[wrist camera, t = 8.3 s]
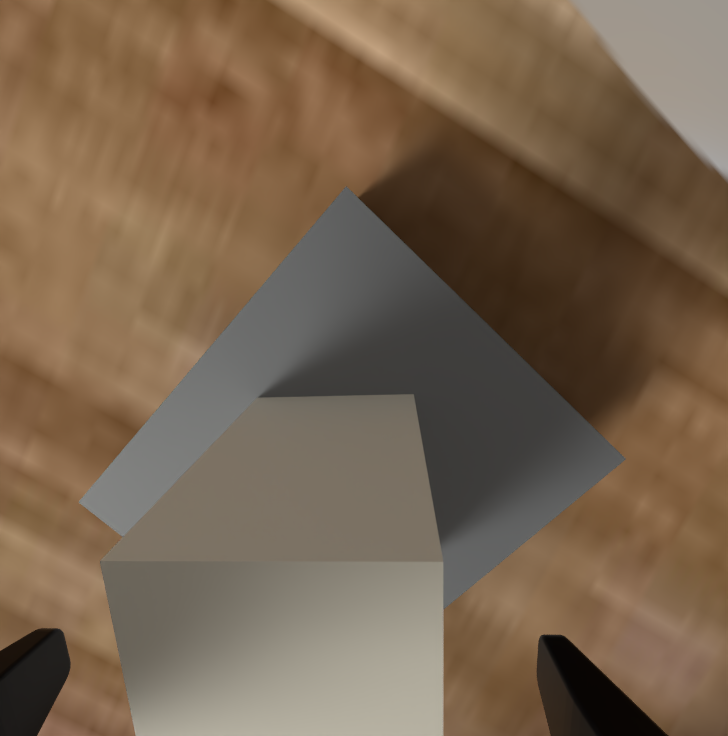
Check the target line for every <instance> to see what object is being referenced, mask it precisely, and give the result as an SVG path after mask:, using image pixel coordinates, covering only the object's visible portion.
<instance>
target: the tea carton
mask: <svg viewBox="0 0 728 736" xmlns="http://www.w3.org/2000/svg"><path fill="white" fill-rule="evenodd" d="M100 564H101V569H102V574H103V579H104V584H105V589H106V593H107V598H108V603H109V608H110V613H111V618H112V623H113V627H114V632H115V637H116V642H117V647H118V652H119V657H120V661H121V666H122V671H123V676H124V681H125V686H126V691H127V695H128V700H129V705H130V710H131V715H132V720H133V725H134V729H135V734H136V736H443V557H442V551H441V546H440V540H439V534H438V529H437V523H436V517H435V512H434V506H433V500H432V495H431V489H430V483H429V478H428V472H427V467H426V461H425V455H424V450H423V444H422V438H421V433H420V427H419V421H418V416H417V410H416V404H415V399H414V394H397V395H352V396H307V397H262V398H256V399H255V400H254V402H253V403H252V404H251V405H250V406H249V407H248V408H247V409H246V410H245V411H244V412H243V413H242V414H241V415H240V416H239V417H238V418H237V419H236V420H235V421H234V422H233V423H232V424H231V425H230V426H229V427H228V429H227V430H226V431H225V432H224V433H223V434H222V435H221V436H220V437H219V438H218V439H217V440H216V441H215V442H214V443H213V444H212V445H211V446H210V447H209V448H208V449H207V450H206V451H205V452H204V453H203V455H202V456H201V457H200V458H199V459H198V460H197V461H196V462H195V463H194V464H193V465H192V466H191V467H190V468H189V469H188V470H187V471H186V472H185V473H184V474H183V475H182V476H181V477H180V478H179V479H178V480H177V482H176V483H175V484H174V485H173V486H172V487H171V488H170V489H169V490H168V491H167V492H166V493H165V494H164V495H163V496H162V497H161V498H160V499H159V500H158V501H157V502H156V503H155V504H154V505H153V506H152V508H151V509H150V510H149V511H148V512H147V513H146V514H145V515H144V516H143V517H142V518H141V519H140V520H139V521H138V522H137V523H136V524H135V525H134V526H133V527H132V528H131V529H130V530H129V531H128V532H127V533H126V535H125V536H124V537H123V538H122V539H121V540H120V541H119V542H118V543H117V544H116V545H115V546H114V547H113V548H112V549H111V550H110V551H109V552H108V553H107V554H106V555H105V556H104V557H103V558H102V559H101V561H100Z"/></svg>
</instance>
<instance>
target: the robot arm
mask: <svg viewBox="0 0 728 736" xmlns="http://www.w3.org/2000/svg"><path fill="white" fill-rule="evenodd" d="M69 671H70V658H69V653H68V649H67V645H66V641H65V637H64V633H63V632H62V631H61V630H60V629H57V628H41V629H37V630H35V631H33V632H31V633H30V634H28V635H26V636H25V637H23V638H21V639H20V640H18V641H16V642H15V643H13V644H11V645H9V646H8V647H6V648H4V649H3V650H1V651H0V736H37V735H38V733H39V731H40V729H41V727H42V725H43V723H44V721H45V719H46V717H47V716H48V714H49V712H50V710H51V708H52V706H53V704H54V702H55V700H56V698H57V696H58V695H59V693H60V691H61V689H62V687H63V685H64V683H65V681H66V679H67V677H68V674H69ZM537 681H538V686H539V690H540V694H541V698H542V702H543V706H544V710H545V714H546V718H547V722H548V726H549V730H550V734H551V736H668V735H667V734H666V733H665V732H664V731H663V730H662V729H661V728H660V727H659V726H658V725H657V724H656V723H655V722H654V721H653V720H651V719H650V718H649V717H648V716H647V715H646V714H645V713H644V712H643V711H642V710H641V709H640V708H639V707H638V706H637V705H636V704H635V703H634V702H633V701H632V700H631V699H630V698H629V697H628V696H627V695H626V694H624V693H623V692H622V691H621V690H620V689H619V688H618V687H617V686H616V685H615V684H614V683H613V682H612V681H611V680H610V679H609V678H608V677H607V676H606V675H605V674H604V673H603V672H602V671H601V670H600V669H599V668H597V667H596V666H595V665H594V664H593V663H592V662H591V661H590V660H589V659H588V658H587V657H586V656H585V655H584V654H583V653H582V652H581V651H580V650H579V649H578V648H577V647H576V646H575V645H574V644H573V643H572V642H570V641H569V640H568V639H567V638H566V637H565V636H563V635H541V636H540V638H539V643H538V658H537Z"/></svg>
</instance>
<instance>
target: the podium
mask: <svg viewBox="0 0 728 736" xmlns="http://www.w3.org/2000/svg"><path fill="white" fill-rule="evenodd" d="M397 394H414V399H415V404H416V410H417V416H418V421H419V427H420V433H421V438H422V444H423V450H424V455H425V461H426V467H427V472H428V478H429V483H430V489H431V495H432V500H433V506H434V512H435V517H436V523H437V529H438V534H439V540H440V546H441V551H442V557H443V609H445V608H446V607H447V606H448V605H449V604H451V603H452V602H453V601H454V600H456V599H457V598H458V597H459V596H460V595H462V594H463V593H464V592H465V591H466V590H468V589H469V588H470V587H471V586H473V585H474V584H475V583H476V582H477V581H479V580H480V579H481V578H482V577H483V576H485V575H486V574H487V573H488V572H490V571H491V570H492V569H493V568H494V567H496V566H497V565H498V564H499V563H500V562H502V561H503V560H504V559H505V558H507V557H508V556H509V555H510V554H511V553H513V552H514V551H515V550H516V549H517V548H519V547H520V546H521V545H522V544H523V543H525V542H526V541H527V540H528V539H530V538H531V537H532V536H533V535H534V534H536V533H537V532H538V531H539V530H540V529H542V528H543V527H544V526H545V525H547V524H548V523H549V522H550V521H551V520H553V519H554V518H555V517H556V516H557V515H559V514H560V513H561V512H562V511H564V510H565V509H566V508H567V507H568V506H570V505H571V504H572V503H573V502H574V501H576V500H577V499H578V498H579V497H581V496H582V495H583V494H584V493H585V492H587V491H588V490H589V489H590V488H591V487H593V486H594V485H595V484H596V483H598V482H599V481H600V480H601V479H602V478H604V477H605V476H606V475H607V474H608V473H610V472H611V471H612V470H613V469H615V468H616V467H617V466H618V465H619V464H621V463H622V462H623V461H624V460H625V458H624V457H623V456H622V455H621V454H620V453H619V452H618V451H617V450H616V449H615V448H614V447H613V446H612V445H611V444H610V443H609V442H608V441H607V440H606V439H605V438H604V437H603V436H602V435H601V434H600V433H599V432H598V431H597V430H596V429H595V428H594V427H593V426H592V425H590V424H589V423H588V422H587V421H586V420H585V419H584V418H583V417H582V416H581V415H580V414H579V413H578V412H577V411H576V410H575V409H574V408H573V407H572V406H571V405H570V404H569V403H568V402H567V401H566V400H565V399H564V398H563V397H562V396H561V395H560V394H559V393H558V392H557V391H556V390H555V389H554V388H553V387H552V386H550V385H549V384H548V383H547V382H546V381H545V380H544V379H543V378H542V377H541V376H540V375H539V374H538V373H537V372H536V371H535V370H534V369H533V368H532V367H531V366H530V365H529V364H528V363H527V362H526V361H525V360H524V359H523V358H522V357H521V356H520V355H519V354H518V353H517V352H516V351H515V350H514V349H513V348H512V347H510V346H509V345H508V344H507V343H506V342H505V341H504V340H503V339H502V338H501V337H500V336H499V335H498V334H497V333H496V332H495V331H494V330H493V329H492V328H491V327H490V326H489V325H488V324H487V323H486V322H485V321H484V320H483V319H482V318H481V317H480V316H479V315H478V314H477V313H476V312H475V311H474V310H473V309H472V308H470V307H469V306H468V305H467V304H466V303H465V302H464V301H463V300H462V299H461V298H460V297H459V296H458V295H457V294H456V293H455V292H454V291H453V290H452V289H451V288H450V287H449V286H448V285H447V284H446V283H445V282H444V281H443V280H442V279H441V278H440V277H439V276H438V275H437V274H436V273H435V272H434V271H433V270H432V269H430V268H429V267H428V266H427V265H426V264H425V263H424V262H423V261H422V260H421V259H420V258H419V257H418V256H417V255H416V254H415V253H414V252H413V251H412V250H411V249H410V248H409V247H408V246H407V245H406V244H405V243H404V242H403V241H402V240H401V239H400V238H399V237H398V236H397V235H396V234H395V233H394V232H393V231H392V230H391V229H389V228H388V227H387V226H386V225H385V224H384V223H383V222H382V221H381V220H380V219H379V218H378V217H377V216H376V215H375V214H374V213H373V212H372V211H371V210H370V209H369V208H368V207H367V206H366V205H365V204H364V203H363V202H362V201H361V200H360V199H359V198H358V197H357V196H356V195H355V194H354V193H353V192H352V191H351V190H349V189H348V188H347V187H345V189H344V190H343V191H342V192H341V193H340V194H339V196H338V197H337V198H336V199H335V200H334V201H333V203H332V204H331V205H330V206H329V207H328V209H327V210H326V211H325V212H324V213H323V214H322V216H321V217H320V218H319V219H318V220H317V222H316V223H315V224H314V225H313V226H312V227H311V229H310V230H309V231H308V232H307V233H306V235H305V236H304V237H303V238H302V239H301V240H300V242H299V243H298V244H297V245H296V246H295V247H294V249H293V250H292V251H291V252H290V253H289V255H288V256H287V257H286V258H285V259H284V260H283V262H282V263H281V264H280V265H279V266H278V268H277V269H276V270H275V271H274V272H273V273H272V275H271V276H270V277H269V278H268V279H267V280H266V282H265V283H264V284H263V285H262V286H261V288H260V289H259V290H258V291H257V292H256V293H255V295H254V296H253V297H252V298H251V299H250V301H249V302H248V303H247V304H246V305H245V306H244V308H243V309H242V310H241V311H240V312H239V313H238V315H237V316H236V317H235V318H234V319H233V321H232V322H231V323H230V324H229V325H228V326H227V328H226V329H225V330H224V331H223V332H222V334H221V335H220V336H219V337H218V338H217V339H216V341H215V342H214V343H213V344H212V345H211V346H210V348H209V349H208V350H207V351H206V352H205V354H204V355H203V356H202V357H201V358H200V359H199V361H198V362H197V363H196V364H195V365H194V367H193V368H192V369H191V370H190V371H189V372H188V374H187V375H186V376H185V377H184V378H183V380H182V381H181V382H180V383H179V384H178V385H177V387H176V388H175V389H174V390H173V391H172V392H171V394H170V395H169V396H168V397H167V398H166V400H165V401H164V402H163V403H162V404H161V405H160V407H159V408H158V409H157V410H156V411H155V413H154V414H153V415H152V416H151V417H150V418H149V420H148V421H147V422H146V423H145V424H144V425H143V427H142V428H141V429H140V430H139V431H138V433H137V434H136V435H135V436H134V437H133V438H132V440H131V441H130V442H129V443H128V444H127V446H126V447H125V448H124V449H123V450H122V451H121V453H120V454H119V455H118V456H117V457H116V458H115V460H114V461H113V462H112V463H111V464H110V466H109V467H108V468H107V469H106V470H105V471H104V473H103V474H102V475H101V476H100V477H99V479H98V480H97V481H96V482H95V483H94V484H93V486H92V487H91V488H90V489H89V490H88V491H87V493H86V494H85V495H84V496H83V497H82V499H81V500H80V501H79V503H80V504H81V505H83V506H84V507H85V508H87V509H88V510H89V511H90V512H92V513H93V514H94V515H96V516H97V517H98V518H99V519H101V520H102V521H103V522H104V523H106V524H107V525H108V526H110V527H111V528H112V529H113V530H115V531H116V532H117V533H119V534H120V535H121V536H122V537H124V536H125V535H126V533H127V532H128V531H129V530H130V529H131V528H132V527H133V526H134V525H135V524H136V523H137V522H138V521H139V520H140V519H141V518H142V517H143V516H144V515H145V514H146V513H147V512H148V511H149V510H150V509H151V508H152V506H153V505H154V504H155V503H156V502H157V501H158V500H159V499H160V498H161V497H162V496H163V495H164V494H165V493H166V492H167V491H168V490H169V489H170V488H171V487H172V486H173V485H174V484H175V483H176V482H177V480H178V479H179V478H180V477H181V476H182V475H183V474H184V473H185V472H186V471H187V470H188V469H189V468H190V467H191V466H192V465H193V464H194V463H195V462H196V461H197V460H198V459H199V458H200V457H201V456H202V455H203V453H204V452H205V451H206V450H207V449H208V448H209V447H210V446H211V445H212V444H213V443H214V442H215V441H216V440H217V439H218V438H219V437H220V436H221V435H222V434H223V433H224V432H225V431H226V430H227V429H228V427H229V426H230V425H231V424H232V423H233V422H234V421H235V420H236V419H237V418H238V417H239V416H240V415H241V414H242V413H243V412H244V411H245V410H246V409H247V408H248V407H249V406H250V405H251V404H252V403H253V402H254V400H255V399H256V398H262V397H307V396H352V395H397Z"/></svg>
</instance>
